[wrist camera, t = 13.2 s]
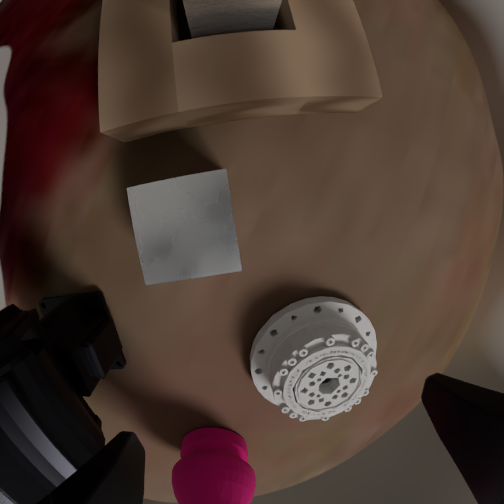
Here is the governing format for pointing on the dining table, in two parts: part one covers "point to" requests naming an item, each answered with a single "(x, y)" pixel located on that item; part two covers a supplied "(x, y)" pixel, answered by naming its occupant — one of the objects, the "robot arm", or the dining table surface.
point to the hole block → (228, 68)
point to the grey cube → (185, 227)
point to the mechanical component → (315, 358)
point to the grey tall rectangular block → (230, 16)
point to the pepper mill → (213, 469)
